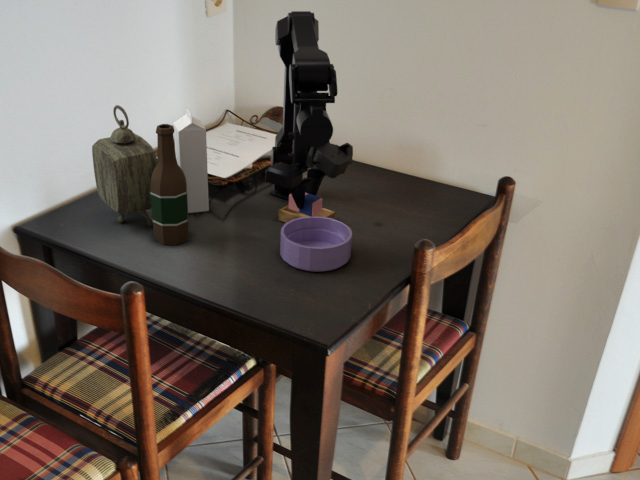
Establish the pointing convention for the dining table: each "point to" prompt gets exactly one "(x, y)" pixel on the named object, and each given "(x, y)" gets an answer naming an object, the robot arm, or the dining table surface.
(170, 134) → the beer bottle
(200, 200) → the milk
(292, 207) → the eraser
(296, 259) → the bowl
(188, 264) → the dining table surface
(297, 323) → the dining table surface
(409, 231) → the dining table surface
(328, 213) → the tray
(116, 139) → the tabletop clock
